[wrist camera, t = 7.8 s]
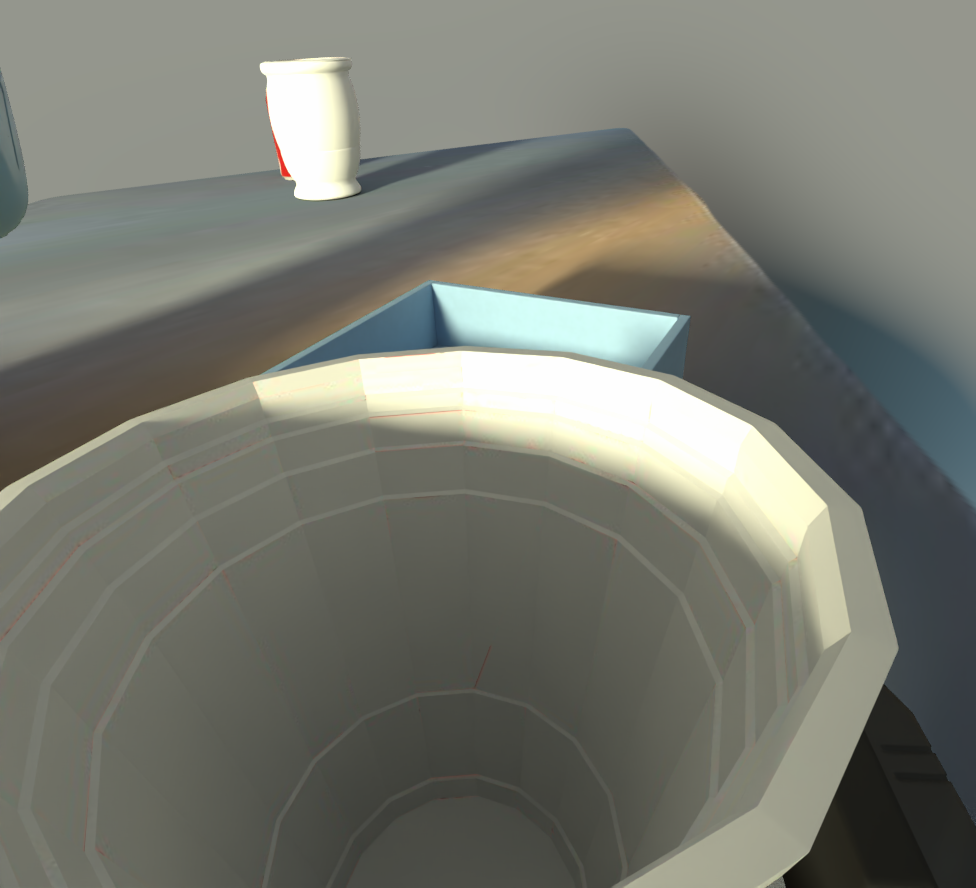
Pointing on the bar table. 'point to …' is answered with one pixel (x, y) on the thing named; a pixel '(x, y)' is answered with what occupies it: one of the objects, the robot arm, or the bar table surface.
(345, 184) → the jar
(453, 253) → the bar table surface
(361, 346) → the tray
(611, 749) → the plastic cup
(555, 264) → the bar table surface
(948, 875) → the robot arm
